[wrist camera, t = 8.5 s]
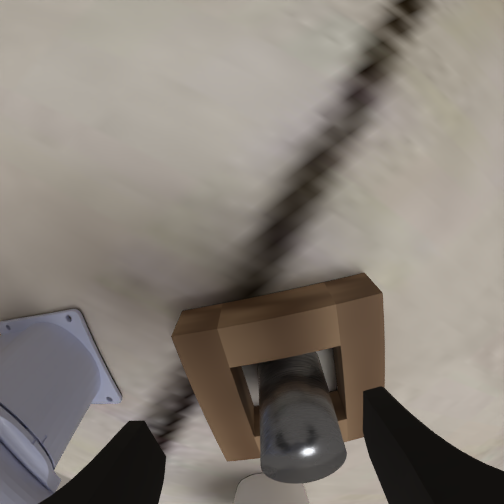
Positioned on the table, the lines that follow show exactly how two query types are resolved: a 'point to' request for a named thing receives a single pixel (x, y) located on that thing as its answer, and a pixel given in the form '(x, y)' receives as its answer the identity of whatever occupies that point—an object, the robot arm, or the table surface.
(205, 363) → the square wooden ring
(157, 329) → the table surface
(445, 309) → the table surface
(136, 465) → the robot arm
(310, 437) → the round peg
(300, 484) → the foam cup
